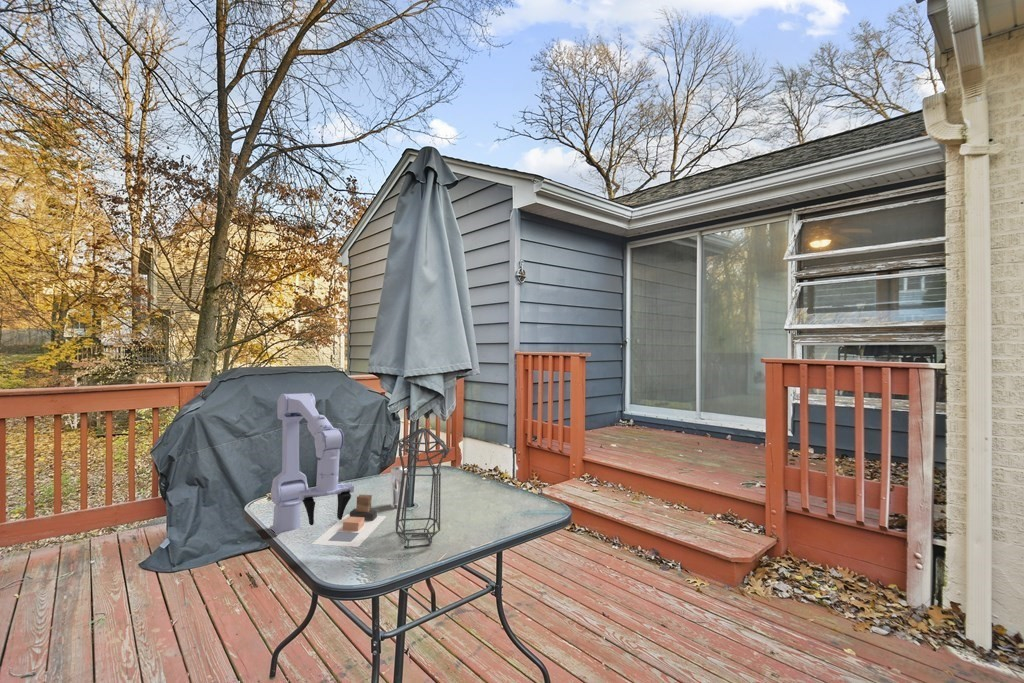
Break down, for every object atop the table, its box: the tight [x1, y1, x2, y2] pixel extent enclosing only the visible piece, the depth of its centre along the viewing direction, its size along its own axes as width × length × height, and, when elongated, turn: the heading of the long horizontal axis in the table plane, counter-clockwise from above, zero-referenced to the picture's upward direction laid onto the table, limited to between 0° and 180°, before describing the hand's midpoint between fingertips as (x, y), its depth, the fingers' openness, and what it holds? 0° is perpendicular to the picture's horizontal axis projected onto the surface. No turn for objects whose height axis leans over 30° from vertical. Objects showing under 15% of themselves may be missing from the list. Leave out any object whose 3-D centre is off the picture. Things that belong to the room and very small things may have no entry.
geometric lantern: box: [395, 427, 452, 549], centre depth 143 cm, size 16×16×35 cm
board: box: [311, 513, 387, 548], centre depth 147 cm, size 26×14×1 cm, turn 177°
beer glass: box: [389, 465, 407, 509], centre depth 171 cm, size 7×7×15 cm
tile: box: [343, 517, 364, 531], centre depth 148 cm, size 5×5×2 cm
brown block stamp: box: [349, 494, 378, 521], centre depth 156 cm, size 4×8×8 cm, turn 87°
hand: (325, 521), depth 129 cm, fingers open, 7 cm apart
